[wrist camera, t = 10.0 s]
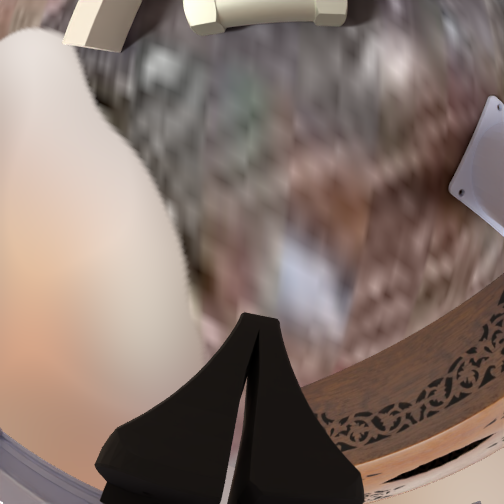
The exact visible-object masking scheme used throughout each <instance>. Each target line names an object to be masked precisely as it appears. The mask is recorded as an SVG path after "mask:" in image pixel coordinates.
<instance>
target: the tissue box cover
mask: <svg viewBox="0 0 504 504" xmlns="http://www.w3.org/2000/svg"><path fill="white" fill-rule="evenodd" d="M301 390H302V392H303V394H304V396H305V398H306V400H307V402H308V404H309V406H310V407H311V409H312V411H313V413H314V414H315V416H316V418H317V419H318V421H319V422H320V424H321V425H322V426H323V428H324V429H325V431H326V432H327V434H328V435H329V437H330V438H331V439H332V441H333V442H334V443H335V444H336V446H337V447H338V448H339V449H340V451H341V452H342V453H343V454H344V455H345V456H346V458H347V459H348V460H349V461H350V462H351V463H352V464H353V465H354V466H355V467H356V468H357V469H358V470H359V471H360V473H361V477H362V481H363V486H364V497H365V501H364V503H363V504H367V503H371V502H376V501H379V500H383V499H386V498H390V497H393V496H396V495H399V494H402V493H406V492H409V491H412V490H414V489H417V488H420V487H423V486H425V485H428V484H430V483H433V482H435V481H438V480H440V479H443V478H445V477H447V476H450V475H452V474H454V473H456V472H458V471H460V470H463V469H465V468H467V467H469V466H471V465H473V464H475V463H476V462H478V461H480V460H482V459H484V458H486V457H488V456H489V455H491V454H493V453H495V452H496V451H498V450H500V449H501V448H503V447H504V274H502V275H501V276H500V277H498V278H497V279H496V280H494V281H493V282H492V283H491V284H489V285H488V286H486V287H485V288H484V289H482V290H481V291H480V292H478V293H477V294H475V295H474V296H473V297H471V298H470V299H468V300H467V301H465V302H464V303H462V304H461V305H459V306H458V307H456V308H455V309H453V310H452V311H450V312H449V313H447V314H446V315H444V316H443V317H441V318H439V319H438V320H436V321H435V322H433V323H431V324H430V325H428V326H426V327H425V328H423V329H421V330H420V331H418V332H416V333H414V334H413V335H411V336H409V337H407V338H405V339H404V340H402V341H400V342H398V343H396V344H395V345H393V346H391V347H389V348H387V349H385V350H383V351H381V352H379V353H377V354H375V355H373V356H371V357H369V358H367V359H365V360H363V361H361V362H359V363H357V364H355V365H353V366H351V367H348V368H346V369H344V370H342V371H340V372H337V373H335V374H333V375H331V376H328V377H326V378H324V379H321V380H319V381H316V382H314V383H312V384H309V385H307V386H304V387H302V388H301Z"/></svg>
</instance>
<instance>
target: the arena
mask: <svg viewBox="0 0 504 504" xmlns="http://www.w3.org/2000/svg"><path fill="white" fill-rule="evenodd" d="M142 1H143V0H79V1H78V3H77V6H76V8H75V10H74V13H73V15H72V18H71V20H70V23H69V25H68V28H67V31H66V33H65V36H64V39H63V42H62V44H66V45H73V46H80V47H87V48H93V49H98V50H105V51H112V52H118V53H121V50H122V47H123V45H124V42H125V40H126V37H127V35H128V32H129V30H130V27H131V25H132V23H133V20H134V18H135V16H136V13H137V11H138V9H139V7H140V5H141V3H142Z"/></svg>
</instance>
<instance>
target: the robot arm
mask: <svg viewBox="0 0 504 504" xmlns="http://www.w3.org/2000/svg"><path fill="white" fill-rule="evenodd" d="M497 105H499V110H498V109H497ZM461 189H462V193H461V194H460V195H459V191H460V190H461ZM449 192H450V194H452V195H453V196H454V197H456V198H457V199H458V200H460V201H461V202H462V203H464V204H465V205H466V206H467V207H469V208H470V209H471V210H472V211H474V212H475V213H476V214H477V215H479V216H480V217H481V218H482V219H484V220H485V221H486V222H487V223H488V224H490V225H491V226H492V227H493V228H494V229H495V230H497V231H498V232H499V233H500V234H501V235H502V236H503V237H504V104H503V103H502V102H501V101H500V100H499V99H498V98H497V97H496V96H489V97H488V99H487V102H486V104H485V107H484V110H483V112H482V115H481V117H480V120H479V122H478V125H477V127H476V129H475V132H474V134H473V136H472V139H471V141H470V143H469V145H468V147H467V150H466V152H465V154H464V156H463V158H462V160H461V162H460V164H459V166H458V168H457V171H456V173H455V174H454V176H453V178H452V180H451V182H450V184H449ZM246 379H247V386H246V398H245V410H244V421H243V430H242V436H241V441H240V446H239V451H238V456H237V461H236V466H235V471H234V476H233V480H232V485H231V489H230V494H229V498H228V503H227V504H363V503H364V501H365V497H364V486H363V481H362V477H361V473H360V471H359V470H358V469H357V468H356V467H355V466H354V465H353V464H352V463H351V462H350V461H349V460H348V459H347V458H346V456H345V455H344V454H343V453H342V452H341V451H340V449H339V448H338V447H337V446H336V444H335V443H334V442H333V441H332V439H331V438H330V437H329V435H328V434H327V432H326V431H325V429H324V428H323V426H322V425H321V424H320V422H319V421H318V419H317V418H316V416H315V414H314V413H313V411H312V409H311V407H310V406H309V404H308V402H307V400H306V398H305V396H304V394H303V392H302V390H301V388H300V386H299V384H298V381H297V379H296V377H295V374H294V372H293V369H292V367H291V364H290V361H289V358H288V355H287V352H286V349H285V346H284V342H283V338H282V334H281V329H280V322H279V321H278V319H275V318H270V317H265V316H260V315H255V314H250V313H245V312H244V313H242V314H241V316H240V318H239V320H238V322H237V324H236V326H235V328H234V329H233V331H232V332H231V334H230V335H229V337H228V338H227V339H226V341H225V342H224V344H223V345H222V346H221V348H220V349H219V350H218V351H217V352H216V354H215V355H214V356H213V357H212V358H211V359H210V360H209V361H208V363H207V364H206V365H205V366H204V367H203V368H202V369H201V370H200V371H199V372H198V373H197V374H196V375H195V376H194V377H193V378H191V379H190V380H189V381H188V382H187V383H186V384H185V385H184V386H182V387H181V388H180V389H179V390H177V391H176V392H175V393H174V394H172V395H171V396H170V397H168V398H167V399H166V400H164V401H162V402H161V403H159V404H158V405H156V406H155V407H153V408H152V409H150V410H149V411H147V412H146V413H144V414H142V415H140V416H139V417H137V418H135V419H133V420H131V421H129V422H127V423H125V424H123V425H121V426H119V427H117V429H115V431H114V432H113V433H112V434H111V435H110V437H109V438H108V440H107V441H106V443H105V444H104V446H103V447H102V449H101V451H100V454H99V456H98V458H97V461H96V463H95V467H96V469H97V471H98V472H99V473H100V474H101V475H102V476H103V478H104V479H105V480H106V481H107V483H106V486H105V488H104V491H101V490H99V489H97V488H95V487H93V486H90V485H88V484H86V483H84V482H82V481H80V480H78V479H76V478H74V477H73V476H71V475H69V474H67V473H65V472H63V471H62V470H60V469H58V468H56V467H55V466H53V465H51V464H50V463H48V462H46V461H45V460H43V459H41V458H40V457H38V456H37V455H35V454H34V453H32V452H31V451H29V450H28V449H26V448H25V447H23V446H22V445H20V444H19V443H18V442H16V441H15V440H14V439H12V438H11V437H10V436H8V435H7V434H6V433H4V432H3V431H2V429H1V428H0V503H1V504H220V502H221V498H222V493H223V489H224V484H225V479H226V473H227V468H228V462H229V457H230V451H231V445H232V440H233V434H234V429H235V424H236V418H237V413H238V407H239V402H240V398H241V395H242V392H243V389H244V385H245V382H246ZM473 504H481V501H478V502H475V503H473Z"/></svg>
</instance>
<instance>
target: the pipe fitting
mask: <svg viewBox="0 0 504 504" xmlns="http://www.w3.org/2000/svg"><path fill="white" fill-rule="evenodd" d="M183 6H184V11H185V15H186V18H187V21H188V23H189V26H190V27H191V29H192V30H193V32H194V33H196V34H197V35H200V36H207V35H213V34H219V33H224V32H225V30H226V28H228V27H236V26H243V25H252V24H263V23H276V22H301V21H313V22H314V23H315V24H316V26H337V27H340V26H341V25H342V24H343V23H344V22H345V20H346V17H347V0H183Z"/></svg>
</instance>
